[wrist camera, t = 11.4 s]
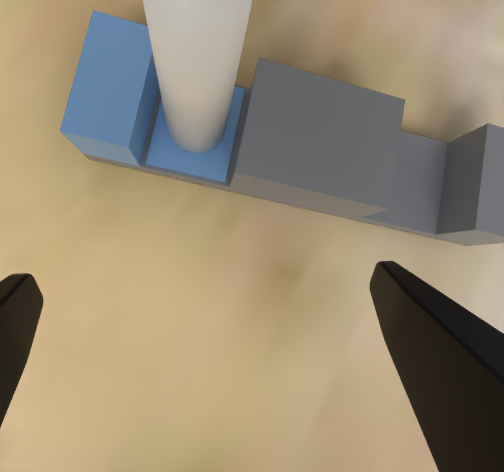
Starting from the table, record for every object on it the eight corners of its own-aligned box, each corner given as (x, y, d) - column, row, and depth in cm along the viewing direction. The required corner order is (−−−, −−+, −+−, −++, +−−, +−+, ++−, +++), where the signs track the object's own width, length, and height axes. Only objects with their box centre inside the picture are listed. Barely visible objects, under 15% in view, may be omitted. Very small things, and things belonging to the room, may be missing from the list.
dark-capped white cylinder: (204, 164, 19) (225, -69, 6) (155, 130, 18) (65, -188, 6) (235, 120, 19) (317, -179, 6) (188, 86, 19) (175, -294, 6)
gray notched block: (466, 245, 22) (524, 241, 18) (89, 159, 19) (59, 131, 15) (476, 159, 23) (534, 136, 19) (114, 61, 20) (93, 10, 16)
